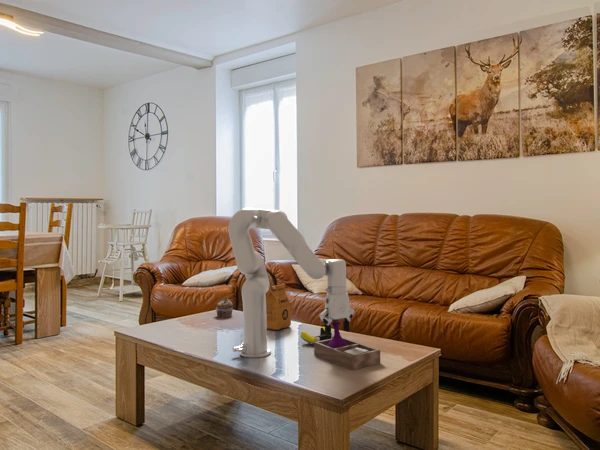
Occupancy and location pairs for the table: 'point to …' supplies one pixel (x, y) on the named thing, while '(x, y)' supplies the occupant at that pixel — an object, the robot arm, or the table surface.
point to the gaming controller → (312, 339)
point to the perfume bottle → (336, 336)
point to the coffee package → (277, 308)
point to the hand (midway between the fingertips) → (337, 332)
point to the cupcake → (224, 308)
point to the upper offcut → (355, 351)
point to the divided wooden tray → (344, 358)
